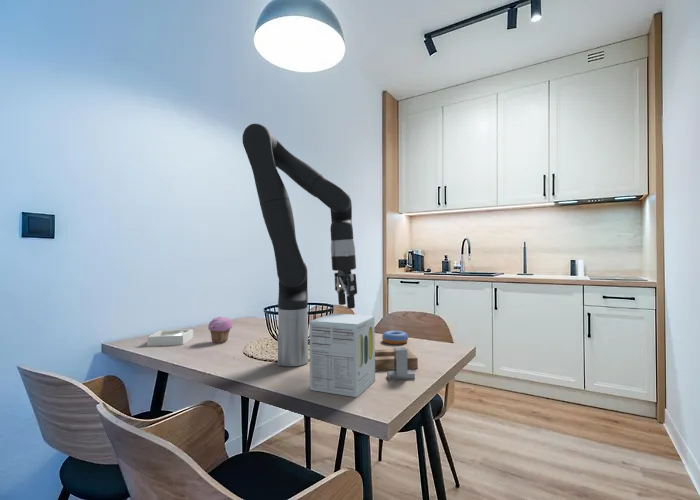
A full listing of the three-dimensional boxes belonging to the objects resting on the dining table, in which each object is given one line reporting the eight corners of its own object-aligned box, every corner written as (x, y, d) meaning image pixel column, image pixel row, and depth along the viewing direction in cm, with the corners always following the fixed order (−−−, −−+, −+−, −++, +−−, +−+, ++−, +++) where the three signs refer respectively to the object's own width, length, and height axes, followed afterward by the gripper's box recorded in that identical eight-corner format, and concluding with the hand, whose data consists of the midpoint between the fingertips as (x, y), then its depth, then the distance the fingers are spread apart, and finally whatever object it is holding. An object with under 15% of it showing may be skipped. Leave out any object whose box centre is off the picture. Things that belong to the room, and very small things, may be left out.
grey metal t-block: (389, 380, 98) (389, 350, 98) (387, 376, 101) (386, 347, 101) (414, 379, 99) (414, 349, 99) (411, 375, 102) (411, 346, 102)
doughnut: (407, 345, 135) (407, 332, 135) (381, 345, 137) (380, 333, 137) (409, 341, 144) (408, 329, 145) (384, 341, 146) (383, 330, 147)
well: (350, 371, 106) (350, 360, 106) (347, 360, 117) (346, 350, 117) (417, 368, 108) (417, 357, 108) (407, 357, 119) (407, 348, 119)
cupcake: (215, 339, 148) (215, 314, 149) (235, 339, 147) (235, 315, 147) (204, 344, 140) (204, 318, 140) (225, 345, 138) (225, 318, 139)
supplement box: (357, 398, 86) (356, 324, 86) (308, 390, 91) (308, 320, 91) (376, 380, 98) (375, 315, 98) (332, 374, 103) (331, 312, 103)
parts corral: (147, 346, 139) (147, 336, 139) (160, 338, 150) (160, 330, 151) (183, 344, 140) (183, 335, 140) (193, 337, 152) (193, 329, 152)
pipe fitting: (157, 345, 143) (169, 345, 140) (156, 335, 143) (169, 334, 140) (173, 340, 150) (186, 340, 148) (173, 330, 150) (185, 330, 148)
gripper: (325, 255, 119) (328, 305, 119) (338, 255, 105) (342, 311, 105) (347, 254, 121) (350, 302, 121) (362, 253, 108) (366, 308, 108)
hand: (346, 306), depth 113 cm, fingers open, 8 cm apart
